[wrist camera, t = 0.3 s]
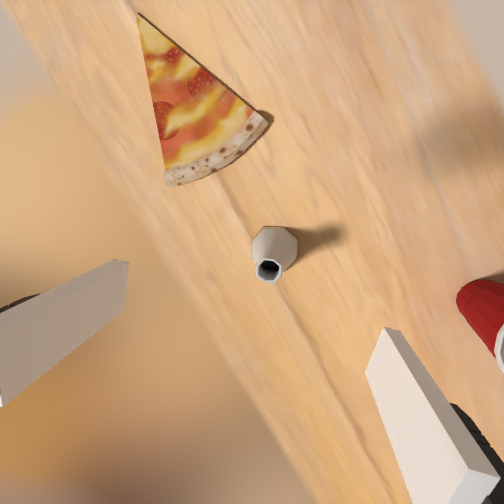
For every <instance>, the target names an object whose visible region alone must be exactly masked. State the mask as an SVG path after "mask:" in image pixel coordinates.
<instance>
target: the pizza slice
mask: <svg viewBox="0 0 504 504" xmlns="http://www.w3.org/2000/svg"><path fill="white" fill-rule="evenodd" d="M135 14H136V19H137V24H138V29H139V34H140V40H141V45H142V50H143V55H144V60H145V65H146V71H147V76H148V81H149V86H150V91H151V96H152V102H153V107H154V112H155V117H156V122H157V127H158V133H159V138H160V143H161V148H162V153H163V158H164V164H165V169H166V170H165V171H164V178H165V183H166V185H167V186H168V187H174V186H179V185H183V184H187V183H190V182H193V181H196V180H198V179H201V178H203V177H205V176H207V175H210V174H212V173H213V172H215V171H217V170H219V169H221V168H223V167H225V166H227V165H228V164H229V163H231V162H232V161H233V160H235V159H236V158H238V157H239V156H240V155H241V154H243V153H244V152H245V151H246V149H247V148H248V147H249V146H250V145H251V144H252V143H253V142H254V141H255V140H256V139H257V138H258V137H259V136H260V135H261V134H262V133H263V132H264V130H265V129H266V127H267V126H268V124H269V123H268V122H267V121H266V120H265V119H264V118H263V117H262V116H261V115H259V114H258V113H257V112H255V111H254V110H252V109H251V108H250V107H249V106H248V105H246V104H245V103H244V102H243V101H242V100H240V99H239V98H238V97H237V96H236V95H234V94H233V93H232V92H231V91H230V90H228V89H227V88H226V87H225V86H224V85H222V84H221V83H220V82H219V81H218V80H216V79H215V78H214V77H213V76H212V75H210V74H209V73H208V72H207V71H206V70H204V69H203V68H202V67H201V66H200V65H198V64H197V63H196V62H195V61H194V60H192V59H191V58H190V57H189V56H188V55H186V54H185V53H184V52H183V51H182V50H180V49H179V48H178V47H177V46H176V45H174V44H173V43H172V42H171V41H170V40H168V39H167V38H166V37H165V36H164V35H162V34H161V33H160V32H159V31H158V30H156V29H155V28H154V27H153V26H152V25H150V24H149V23H148V22H147V21H146V20H144V19H143V18H142V17H141V16H140V15H138V14H137V13H136V12H135Z"/></svg>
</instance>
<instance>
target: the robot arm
mask: <svg viewBox="0 0 504 504" xmlns="http://www.w3.org/2000/svg"><path fill="white" fill-rule="evenodd" d="M127 276H128V262H125V261H121V260H117V259H114V260H112V261H110V262H108V263H105V264H103V265H101V266H99V267H97V268H95V269H93V270H91V271H88V272H86V273H84V274H82V275H80V276H78V277H76V278H74V279H72V280H69V281H68V282H65V283H63V284H61V285H59V286H57V287H55V288H53V289H50V290H48V291H47V292H44V293H42V294H36V295H33V296H28V297H24V298H22V299H20V300H17V301H15V302H13V303H11V304H10V305H9V306H8V305H6V306H4V307H2V308H0V407H3V406H4V405H6V404H7V403H8V402H9V401H11V400H12V399H13V398H15V397H16V396H17V395H18V394H20V393H21V392H22V391H23V390H25V389H26V388H27V387H28V386H30V385H31V384H32V383H33V382H34V381H36V380H37V379H38V378H40V377H41V376H42V375H43V374H45V373H46V372H47V371H48V370H49V369H51V368H52V367H53V366H54V365H56V364H57V363H58V362H59V361H61V360H62V359H63V358H64V357H66V356H67V355H68V354H69V353H71V352H72V351H73V350H74V349H76V348H77V347H78V346H79V345H81V344H82V343H83V342H84V341H86V340H87V339H88V338H89V337H90V336H92V335H93V334H94V333H95V332H97V331H98V330H99V329H101V328H102V327H103V326H104V325H106V324H107V323H108V322H109V321H111V320H112V319H113V318H114V317H116V316H117V315H118V314H119V313H121V312H122V311H123V310H124V309H125V305H126V290H127ZM365 374H366V377H367V380H368V382H369V385H370V388H371V390H372V393H373V396H374V399H375V401H376V404H377V407H378V410H379V412H380V415H381V418H382V421H383V423H384V426H385V429H386V431H387V434H388V437H389V440H390V442H391V445H392V448H393V451H394V453H395V456H396V459H397V461H398V464H399V467H400V470H401V472H402V475H403V478H404V481H405V483H406V486H407V489H408V492H409V494H410V497H411V500H412V502H413V504H504V463H503V461H502V460H501V459H500V457H499V456H498V455H497V453H496V452H495V450H494V449H493V448H491V447H490V444H489V442H488V441H487V440H486V438H485V437H484V435H481V431H480V430H479V429H478V427H477V426H476V425H475V423H474V422H473V420H472V419H471V418H470V417H469V416H468V415H467V414H466V413H465V412H464V411H463V410H461V409H460V408H459V407H458V406H457V405H456V404H452V403H449V402H448V400H447V399H446V397H445V396H444V395H443V393H442V392H441V390H440V389H439V387H438V386H437V384H436V383H435V381H434V380H433V379H432V377H431V376H430V374H429V373H428V371H427V370H426V368H425V367H424V365H423V364H422V363H421V361H420V360H419V358H418V357H417V355H416V354H415V352H414V351H413V349H412V348H411V347H410V345H409V344H408V342H407V341H406V339H405V338H404V336H403V335H402V333H401V332H400V331H399V330H395V329H391V328H387V327H383V329H382V332H381V334H380V337H379V339H378V342H377V344H376V347H375V349H374V352H373V354H372V357H371V359H370V362H369V364H368V367H367V369H366V372H365Z"/></svg>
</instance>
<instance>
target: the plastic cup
mask: <svg viewBox="0 0 504 504" xmlns="http://www.w3.org/2000/svg"><path fill="white" fill-rule="evenodd" d="M456 303H457V306H458V308H459V311H460V312H461V313H462V315H463V316H464V317H465V318H466V320H467V322H468V323H469V325H470V326H471V327H472V328H473V330H474V331H475V332H476V333H477V335H478V336H479V337H480V338H481V339H482V341H483V342H484V343H485V344H486V346H487V347H488V349H489V350H490V352H491V353H492V354H493V356H494V357H495V358H496V360H497V362H498V366H499V368H500V369H501V370H502V371H503V373H504V285H503V284H499V283H496V282H493V281H487V280H476V281H473V282H470V283H468V284H466V285H465V286H464V287H462V288H461V290H460V291H459V293H458V294H457V299H456Z"/></svg>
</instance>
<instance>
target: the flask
mask: <svg viewBox="0 0 504 504" xmlns="http://www.w3.org/2000/svg"><path fill="white" fill-rule="evenodd" d="M297 248H298V239H297V238H295V237H294V236H293V235H292V234H291V233H289V232H288V231H287V230H286V229H285V228H283V227H267V226H264V227H263V228H262V229H261V230H260V232H259V233H258V234H257V235H256V236H255V238H254V239H253V240H252V258H251V259H252V260H253V261H255V262H256V263H257V265H256V276H257V277H258V278H259V279H261V280H262V281H263V282H266V283H275V282H276V281H277V280H278V279H279V278H280V277H281V276H282V272H285V270H286V269H287V268H288V267H289V266H290V265H291V264H292V263H293V262H294V261H295V260H296V259H297Z"/></svg>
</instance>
